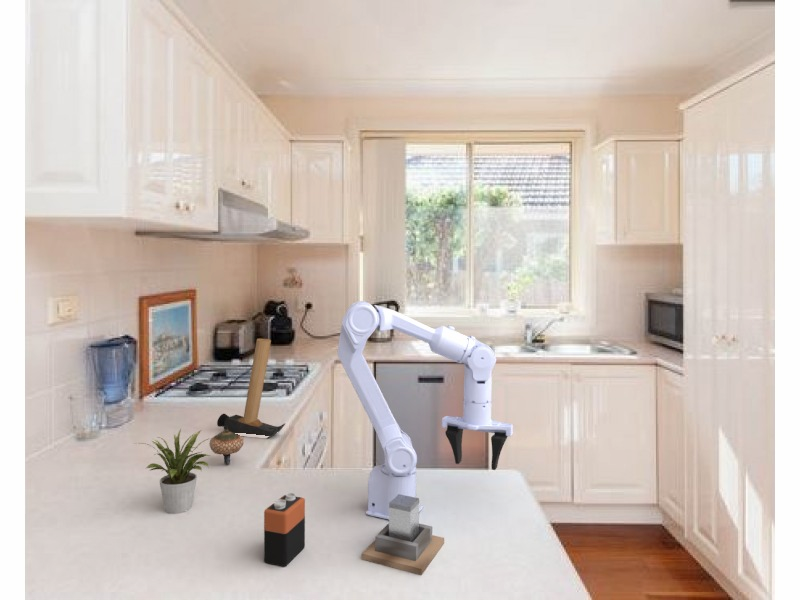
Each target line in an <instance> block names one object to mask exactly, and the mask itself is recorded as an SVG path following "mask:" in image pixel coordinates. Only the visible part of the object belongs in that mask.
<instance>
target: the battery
mask: <svg viewBox="0 0 800 600" xmlns="http://www.w3.org/2000/svg"><path fill="white" fill-rule="evenodd" d="M305 512H306V499H305V498H304V497H300V496H296V494H295V493H294V492H289V493H287V494H284V495H283V496H281V497H280V498H279V499H277V500H275V501H274V502H273V503H272V504H271V505H269V506H268V507H266V508H265V509H264V512H263V516H264V517H263V519H264V520H263V523H264V524H263V525H264V526H263V528H264V529H263V531H264V532H263V535H264V536H263V539H264V540H263V541H264V543H263V546H264V547H263V557H264V558H263V561H264V563H267V564H272V565H276V566H279V567H280V566H282V567H287V565H289V564H290V563H291V562H292V561H293V559H295V558H296V557H297V555H298V554H300V553H301V552H302V551H303V549H304V548H305V546H306V545H305V543H306V526H305V525H306V515H305V514H306V513H305Z"/></svg>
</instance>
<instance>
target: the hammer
mask: <svg viewBox="0 0 800 600" xmlns="http://www.w3.org/2000/svg"><path fill="white" fill-rule="evenodd" d="M271 342H272V340H271V339H269V338H257V339H256V342H255V349H254V354H253V360H252V366H251V371H250V379H249V385H248V390H247V395H246V401H245V408H244V412H243V415H239V414H235V415H230V416H229V415H228V414H226V413H221V415H219V417H218V418H217V421H216V425H217V427H218V428H219V427H220V428H221V427H222V428H223V430H224V431H225V430H226V427H228V430H229V432H233V433H246V434H256V435H265V436H271V437H272V436H274V435H275V434H278V433H279V432H280V431H281V430H283V428H284V426H285V425H286V423H282V424H281V425H279V426H276V425H273V424H268V423H265V422H263V421H261V420H260V419H258V417H259V411H260V406H261V402H262V395H263V394H262V393H263V390H264V382H265V377H266V371H267V365H268V359H269V354H270V349H271V344H272V343H271ZM277 432H278V433H277Z"/></svg>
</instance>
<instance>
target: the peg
mask: <svg viewBox="0 0 800 600" xmlns="http://www.w3.org/2000/svg"><path fill="white" fill-rule="evenodd" d="M419 505H420V498H419V497H416V498H415V497H410V496H405V495H400V494H398V495H397V496H396V497H395V498H394V499H393V500H392V501H391V502H390V503H389V519H388V523H389V537H393V538H397V539H401V540H405V541H409V542H414V540H415V539H416V538H417V537H418V536H419V524H420V512H419Z"/></svg>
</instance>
